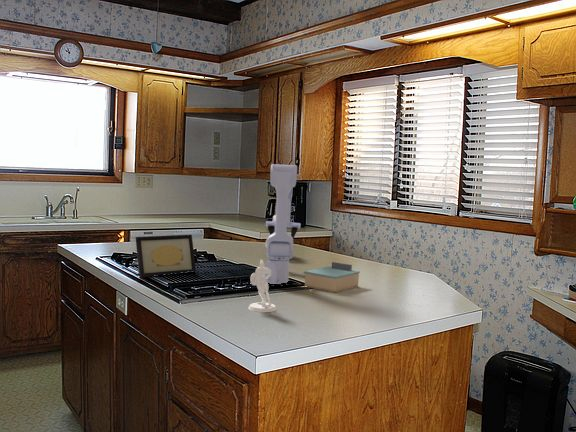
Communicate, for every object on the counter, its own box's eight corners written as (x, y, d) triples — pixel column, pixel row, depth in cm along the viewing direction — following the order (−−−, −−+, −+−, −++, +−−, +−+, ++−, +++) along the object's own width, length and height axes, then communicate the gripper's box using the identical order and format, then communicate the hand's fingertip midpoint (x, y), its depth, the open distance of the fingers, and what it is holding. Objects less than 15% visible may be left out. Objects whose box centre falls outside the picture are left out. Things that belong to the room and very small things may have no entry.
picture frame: (141, 278, 212) (140, 237, 212) (130, 276, 218) (129, 236, 218) (196, 273, 226) (195, 234, 226) (184, 271, 233) (183, 234, 233)
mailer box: (335, 292, 203) (336, 278, 202) (304, 286, 210) (305, 273, 210) (358, 286, 215) (358, 273, 215) (328, 281, 223) (329, 268, 223)
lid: (336, 278, 202) (336, 270, 202) (304, 272, 210) (305, 265, 210) (359, 272, 215) (360, 265, 215) (329, 267, 223) (329, 260, 223)
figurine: (242, 307, 176) (244, 258, 174) (263, 303, 182) (265, 256, 181) (261, 313, 170) (263, 262, 168) (283, 309, 176) (285, 260, 174)
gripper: (301, 211, 245) (300, 242, 249) (267, 209, 246) (266, 240, 250) (300, 215, 239) (298, 247, 242) (265, 213, 240) (264, 244, 243)
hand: (282, 243), depth 245 cm, fingers open, 7 cm apart
